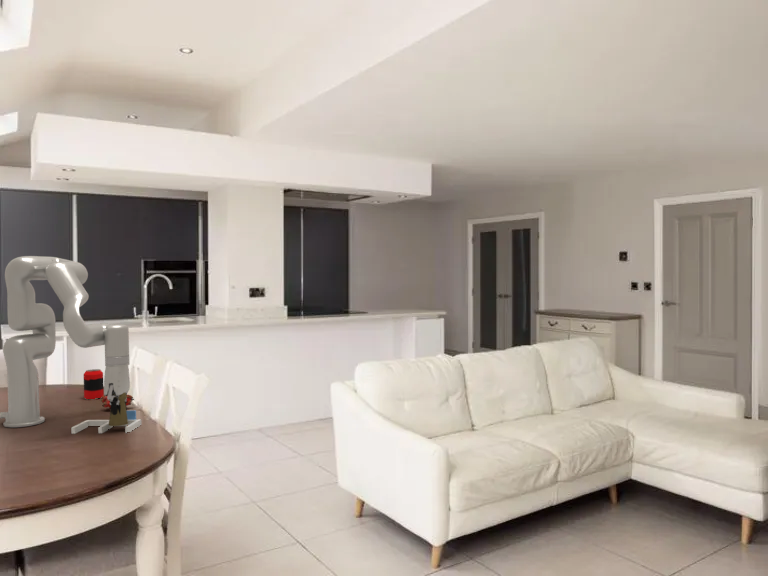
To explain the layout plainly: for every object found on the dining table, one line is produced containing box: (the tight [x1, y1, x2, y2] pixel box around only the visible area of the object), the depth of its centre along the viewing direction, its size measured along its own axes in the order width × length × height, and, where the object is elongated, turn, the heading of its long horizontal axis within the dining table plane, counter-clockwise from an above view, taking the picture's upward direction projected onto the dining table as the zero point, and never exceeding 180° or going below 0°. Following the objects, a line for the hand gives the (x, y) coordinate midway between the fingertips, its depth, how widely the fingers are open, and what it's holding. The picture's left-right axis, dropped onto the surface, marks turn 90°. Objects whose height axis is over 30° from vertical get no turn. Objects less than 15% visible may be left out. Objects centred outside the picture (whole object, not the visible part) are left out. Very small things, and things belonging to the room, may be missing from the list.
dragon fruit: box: [100, 394, 135, 411], centre depth 236 cm, size 8×8×12 cm
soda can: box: [83, 368, 104, 399], centre depth 258 cm, size 8×8×12 cm
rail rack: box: [70, 409, 142, 435], centre depth 206 cm, size 19×11×5 cm, turn 90°
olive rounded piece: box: [108, 392, 128, 427], centre depth 204 cm, size 6×6×11 cm
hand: (118, 414), depth 205 cm, fingers closed on olive rounded piece, 3 cm apart
